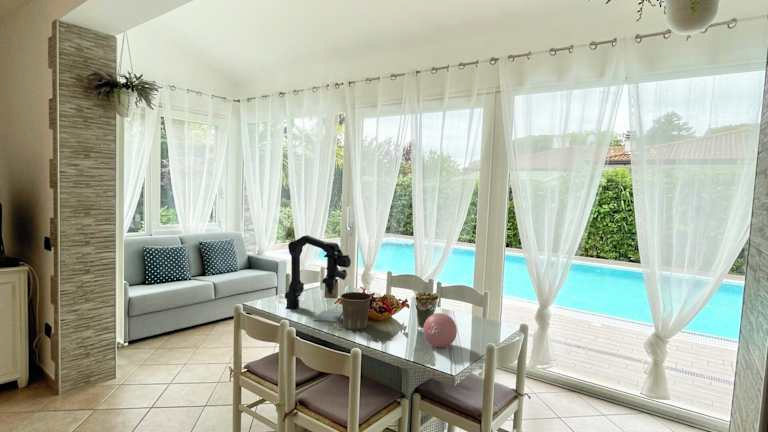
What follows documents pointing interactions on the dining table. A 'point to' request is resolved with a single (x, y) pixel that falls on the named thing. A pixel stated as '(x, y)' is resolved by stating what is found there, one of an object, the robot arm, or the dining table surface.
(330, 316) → the mat
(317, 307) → the dining table surface
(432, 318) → the pink ball
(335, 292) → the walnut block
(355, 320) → the plant pot
